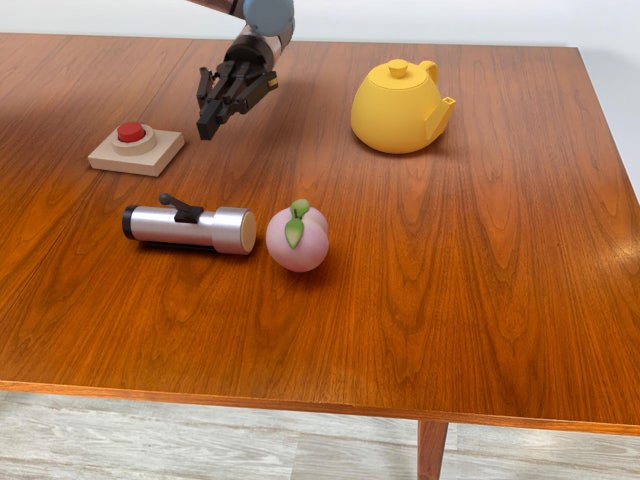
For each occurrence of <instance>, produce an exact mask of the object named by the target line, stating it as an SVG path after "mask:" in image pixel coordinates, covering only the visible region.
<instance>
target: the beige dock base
mask: <svg viewBox="0 0 640 480" xmlns="http://www.w3.org/2000/svg"><path fill="white" fill-rule="evenodd" d="M140 124H141V125H142V127H143V130H144V133H145V136H144V138H143V139H141V140H139V141H137V142H131V143H123V142H121V140H120V138H119V135H118V133H117V128H118V127H119V126H120V125H118V126H116V127H115V129H114V130H113V131H111V133H110V134H109V135H108V136H107V137H106V138H105V139H104V140H103V141H102V142H101V143H100V144H99V145H98V146H96V148H95V149H94V150H93V151H91V153H89V155H88V156H87V159H88V162H89V164H90V167H91V168H92V169H96V170H105V171H111V172H118V173H119V172H120V173H127V174H134V175H142V176H150V177H159V175H160V174H161V173H162V172H163V171H164V169H165V168H166V167H167V166H168V165H169V163H170V162H171V161H172V160H173V158H174V157H175V156H176V155H177V154H178V152H179V151H180V150H181V149H182V148H183V146H184V145H185V143H186V142H185V139H184V137H183V133H182V132H179V131H171V130H163V129H156V128H155V129H154V128H153V127H151V126H149V125H148V124H142V123H140Z"/></svg>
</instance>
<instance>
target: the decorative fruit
mask: <svg viewBox="0 0 640 480" xmlns="http://www.w3.org/2000/svg"><path fill="white" fill-rule="evenodd" d="M328 224H329V223H328V221H327V218H326V217H325V216H324V214H323V213H322V212H320V211H319V209H317V208H315V207H313V206H311V205H310V202H309V200H307V199H305V198H299V199H296V200H295V201H293V202H292V203H291V204H290V205H289V207H287V208H285V209H282V210H280V211H278V212H277V213H276V214H275V215H274V216H273V217H272V218H271V219H270V221H269V222H268V225H267V227H266V232H265V244H266V248H267V252H268V253H269V255H270V257H271V258H272V259H273V261H275V262H276V263H277V264H278V265H280V266H281V267H283V268H285V269H287V270H288V271H292V272H296V273H306V272H309V271H312V270H314V269H316V268H317V267H319V266H320V265H321V264H322V263H323V262H324V260H325V259H326V257H327V254H328V252H329V249H330V248H329V247H330V242H329V238H328V236H329V225H328Z"/></svg>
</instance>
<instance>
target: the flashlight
mask: <svg viewBox="0 0 640 480" xmlns="http://www.w3.org/2000/svg"><path fill="white" fill-rule="evenodd" d="M190 206H191V209H190V213H184V212H180V211H178V210H176V209H174V208H171V207H160V206H159V207H157V206H145V205H141V204H129V205H128V206H126V207H125V209H124V211H123V213H122V216H121V229H122V233H123V235H124V236H125V238H126V239H127V240H129V241H146V242H147V241H148V242H147V246H148V248H149V249H161V250H171V251H172V250H173V251H182V252H196V253H207V254H216V252H217V253H218V254H219V253H220V254H221V253H222V254H231V255H243V256H248V255H250V254H251V252H252V251H253V248H254V246H255V243H256V238H257V219H256V215H255V213H254V211H253V210H252V209H251V208H248V207H246V208H244V207H233V206H232V207H231V206H219V207H218V208H217V209H216V210H215V211H208V210H205V209H204V206H198V205H190Z"/></svg>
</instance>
